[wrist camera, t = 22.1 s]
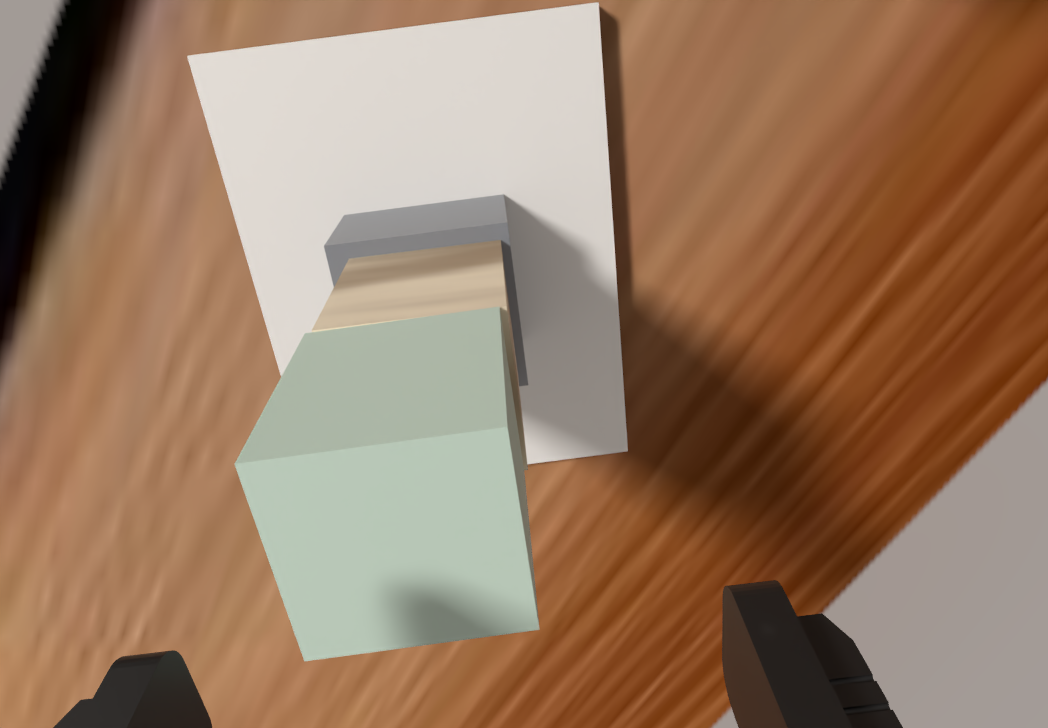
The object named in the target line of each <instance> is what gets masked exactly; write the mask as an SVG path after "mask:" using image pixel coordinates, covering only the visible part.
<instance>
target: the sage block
mask: <svg viewBox="0 0 1048 728" xmlns="http://www.w3.org/2000/svg"><path fill="white" fill-rule="evenodd" d="M235 467H236V470H237V472H238V475H239V478H240V481H241V484H242V487H243V489H244V492H245V495H246V498H247V501H248V503H249V506H250V509H251V512H252V515H253V518H254V520H255V523H256V526H257V529H258V532H259V534H260V537H261V540H262V543H263V546H264V549H265V551H266V554H267V557H268V560H269V563H270V565H271V568H272V571H273V574H274V577H275V580H276V582H277V585H278V588H279V591H280V594H281V596H282V599H283V602H284V605H285V608H286V610H287V613H288V616H289V619H290V622H291V625H292V627H293V630H294V633H295V636H296V639H297V641H298V644H299V647H300V650H301V653H302V656H303V658H304V661H311V660H318V659H325V658H333V657H340V656H348V655H355V654H362V653H370V652H377V651H385V650H392V649H400V648H407V647H414V646H422V645H429V644H437V643H444V642H452V641H459V640H466V639H474V638H481V637H489V636H496V635H503V634H511V633H518V632H526V631H533V630H539V620H538V610H537V600H536V589H535V579H534V568H533V558H532V548H531V537H530V527H529V516H528V506H527V496H526V485H525V475H524V466H523V460H522V453H521V446H520V440H519V433H518V426H517V420H516V413H515V406H514V400H513V393H512V387H511V380H510V373H509V367H508V360H507V353H506V347H505V340H504V333H503V327H502V320H501V313H500V307H493V308H485V309H478V310H471V311H464V312H456V313H449V314H442V315H434V316H427V317H420V318H413V319H405V320H398V321H391V322H383V323H376V324H369V325H362V326H354V327H347V328H340V329H333V330H325V331H318V332H311V333H305V334H304V336H303V338H302V340H301V341H300V343H299V345H298V347H297V349H296V351H295V353H294V354H293V356H292V358H291V360H290V362H289V364H288V366H287V367H286V369H285V371H284V373H283V375H282V377H281V379H280V380H279V382H278V384H277V386H276V388H275V390H274V392H273V393H272V395H271V397H270V399H269V401H268V403H267V405H266V406H265V408H264V410H263V412H262V414H261V416H260V418H259V420H258V421H257V423H256V425H255V427H254V429H253V431H252V433H251V434H250V436H249V438H248V440H247V442H246V444H245V446H244V447H243V449H242V451H241V453H240V455H239V457H238V459H237V460H236V462H235Z"/></svg>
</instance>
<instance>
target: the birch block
mask: <svg viewBox="0 0 1048 728" xmlns="http://www.w3.org/2000/svg"><path fill="white" fill-rule="evenodd" d="M493 307H500V313H501V320H502V327H503V333H504V340H505V347H506V353H507V360H508V367H509V373H510V380H511V387H512V393H513V400H514V406H515V413H516V420H517V426H518V433H519V440H520V446H521V453H522V460H523V466H524V470H528V466H527V456H526V447H525V437H524V428H523V418H522V409H521V399H520V389H519V380H518V371H517V363H516V356H515V348H514V340H513V332H512V324H511V317H510V309H509V301H508V293H507V286H506V278H505V270H504V262H503V254H502V247H501V240H496V241H488V242H480V243H472V244H464V245H456V246H448V247H440V248H431V249H423V250H415V251H407V252H399V253H391V254H383V255H375V256H367V257H359V258H351V259H349V260H348V262H347V263H346V265H345V267H344V269H343V271H342V273H341V275H340V277H339V279H338V281H337V283H336V285H335V286H334V288H333V290H332V292H331V294H330V296H329V298H328V300H327V302H326V304H325V306H324V308H323V309H322V311H321V313H320V315H319V317H318V319H317V321H316V323H315V325H314V327H313V329H312V332H318V331H325V330H333V329H340V328H347V327H354V326H362V325H369V324H376V323H383V322H391V321H398V320H405V319H413V318H420V317H427V316H434V315H442V314H449V313H456V312H464V311H471V310H478V309H485V308H493Z"/></svg>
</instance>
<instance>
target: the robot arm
mask: <svg viewBox="0 0 1048 728" xmlns="http://www.w3.org/2000/svg"><path fill="white" fill-rule="evenodd" d="M722 662H723V672H724V678H725V684H726V688H727V693H728V697H729V700H730V704H731V707H732V710H733V713H734V715H735V719H736V721H737V724H738V727H739V728H903V727H902V725H901V724H900V722H899V720H898V718H897V717H896V715H895V713H894V711H893V710H890V708H889V704H888V701H887V699H886V697H885V695H884V694H883V692H882V690H881V688H880V687H879V685H878V683H877V681H874V680H873V676H872V673H871V671H870V669H869V668H868V666H867V664H866V662H865V660H864V659H863V657H862V655H861V654H860V652H859V650H858V648H857V646H856V645H855V643H854V641H853V640H852V639H851V638H849V637H848V636H847V635H846V634H845V633H844V632H843V631H842V630H840V629H839V628H838V627H837V626H836V625H835V624H834V623H832V622H831V621H830V620H829V619H828V618H827V617H826V616H824V615H823V614H814V615H806V616H798V617H797V616H796V614H795V612H794V610H793V608H792V606H791V604H790V602H789V600H788V598H787V596H786V594H785V592H784V590H783V588H782V586H781V585H780V583H779V582H778V581H776V580H773V581H765V582H756V583H748V584H740V585H731V586H725V587H724V590H723V634H722ZM53 728H212V724H211V720H210V717H209V715H208V713H207V710H206V708H205V706H204V704H203V702H202V699H201V697H200V695H199V693H198V690H197V688H196V686H195V684H194V682H193V679H192V677H191V675H190V673H189V671H188V668H187V666H186V664H185V662H184V660H183V658H182V656H181V655H180V654H179V653H178V652H177V651H165V652H157V653H148V654H140V655H132V656H123V657H121V658H119V659H117V660H116V661H115V662H114V663H113V664H112V666H111V667H110V669H109V671H108V672H107V674H106V676H105V678H104V679H103V681H102V683H101V685H100V687H99V688H98V690H97V692H96V694H95V695H94V697H93V699H85V700H80V701H79V702H78V703H77V704H76V705H75V706H74V707H73V708H72V709H71V710H70V711H69V712H68V713H67V714H66V715H65V716H64V717H63V718H62V719H61V720H60V721H59V722H58V723H57V724H56V725H55V726H54V727H53Z"/></svg>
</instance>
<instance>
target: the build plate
mask: <svg viewBox="0 0 1048 728" xmlns="http://www.w3.org/2000/svg"><path fill="white" fill-rule="evenodd" d="M187 57H188V61H189V64H190V67H191V71H192V74H193V78H194V81H195V85H196V88H197V91H198V95H199V98H200V102H201V105H202V108H203V112H204V115H205V119H206V122H207V125H208V129H209V132H210V136H211V139H212V142H213V146H214V149H215V153H216V156H217V160H218V163H219V166H220V170H221V173H222V177H223V180H224V183H225V187H226V190H227V194H228V197H229V200H230V204H231V207H232V211H233V214H234V217H235V221H236V224H237V228H238V231H239V234H240V238H241V241H242V245H243V248H244V252H245V255H246V258H247V262H248V265H249V269H250V272H251V275H252V279H253V282H254V286H255V289H256V292H257V296H258V299H259V303H260V306H261V309H262V313H263V316H264V320H265V323H266V327H267V330H268V333H269V337H270V340H271V344H272V347H273V350H274V354H275V357H276V361H277V364H278V367H279V371H280V374H281V377H282V375H283V373H284V371H285V369H286V367H287V366H288V364H289V362H290V360H291V358H292V356H293V354H294V353H295V351H296V349H297V347H298V345H299V343H300V341H301V340H302V338H303V336H304V334H305V333H311V332H312V329H313V327H314V325H315V323H316V321H317V319H318V317H319V315H320V313H321V311H322V309H323V308H324V306H325V304H326V302H327V300H328V298H329V296H330V294H331V292H332V290H333V288H334V286H335V285H336V283H337V281H338V279H339V277H340V275H341V273H342V271H343V269H344V267H345V265H346V263H347V262H348V260H349V259H351V258H359V257H367V256H375V255H383V254H391V253H399V252H407V251H415V250H423V249H431V248H440V247H448V246H456V245H464V244H472V243H480V242H488V241H496V240H501V247H502V254H503V262H504V270H505V278H506V286H507V293H508V301H509V309H510V317H511V324H512V332H513V340H514V348H515V356H516V363H517V371H518V380H519V389H520V399H521V409H522V418H523V428H524V437H525V447H526V456H527V464H533V463H541V462H549V461H557V460H564V459H572V458H580V457H588V456H595V455H603V454H611V453H619V452H626V451H628V445H627V429H626V414H625V399H624V383H623V368H622V353H621V338H620V322H619V307H618V292H617V276H616V261H615V246H614V231H613V215H612V200H611V185H610V169H609V154H608V139H607V124H606V108H605V93H604V78H603V62H602V47H601V32H600V17H599V2H596V3H587V4H580V5H572V6H564V7H557V8H549V9H541V10H534V11H526V12H518V13H511V14H503V15H495V16H488V17H480V18H472V19H465V20H457V21H449V22H442V23H434V24H426V25H419V26H411V27H403V28H396V29H388V30H380V31H373V32H365V33H357V34H350V35H342V36H334V37H327V38H319V39H311V40H304V41H296V42H288V43H281V44H273V45H265V46H258V47H250V48H242V49H235V50H227V51H219V52H212V53H204V54H196V55H190V56H187Z"/></svg>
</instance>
